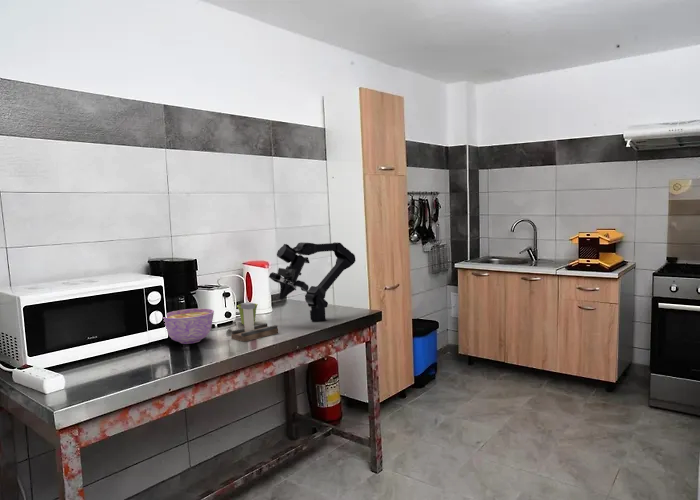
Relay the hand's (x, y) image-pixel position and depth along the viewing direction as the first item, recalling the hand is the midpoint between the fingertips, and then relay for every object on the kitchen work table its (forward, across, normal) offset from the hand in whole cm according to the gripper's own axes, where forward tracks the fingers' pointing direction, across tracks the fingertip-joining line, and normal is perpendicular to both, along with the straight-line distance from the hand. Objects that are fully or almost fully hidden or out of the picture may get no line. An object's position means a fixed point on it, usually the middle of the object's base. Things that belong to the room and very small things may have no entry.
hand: (280, 299), depth 222 cm
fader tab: (+19, 0, -11) cm, 21 cm away
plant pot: (+14, -18, +10) cm, 25 cm away
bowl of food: (+32, -18, -20) cm, 41 cm away
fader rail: (+19, +1, -7) cm, 21 cm away
